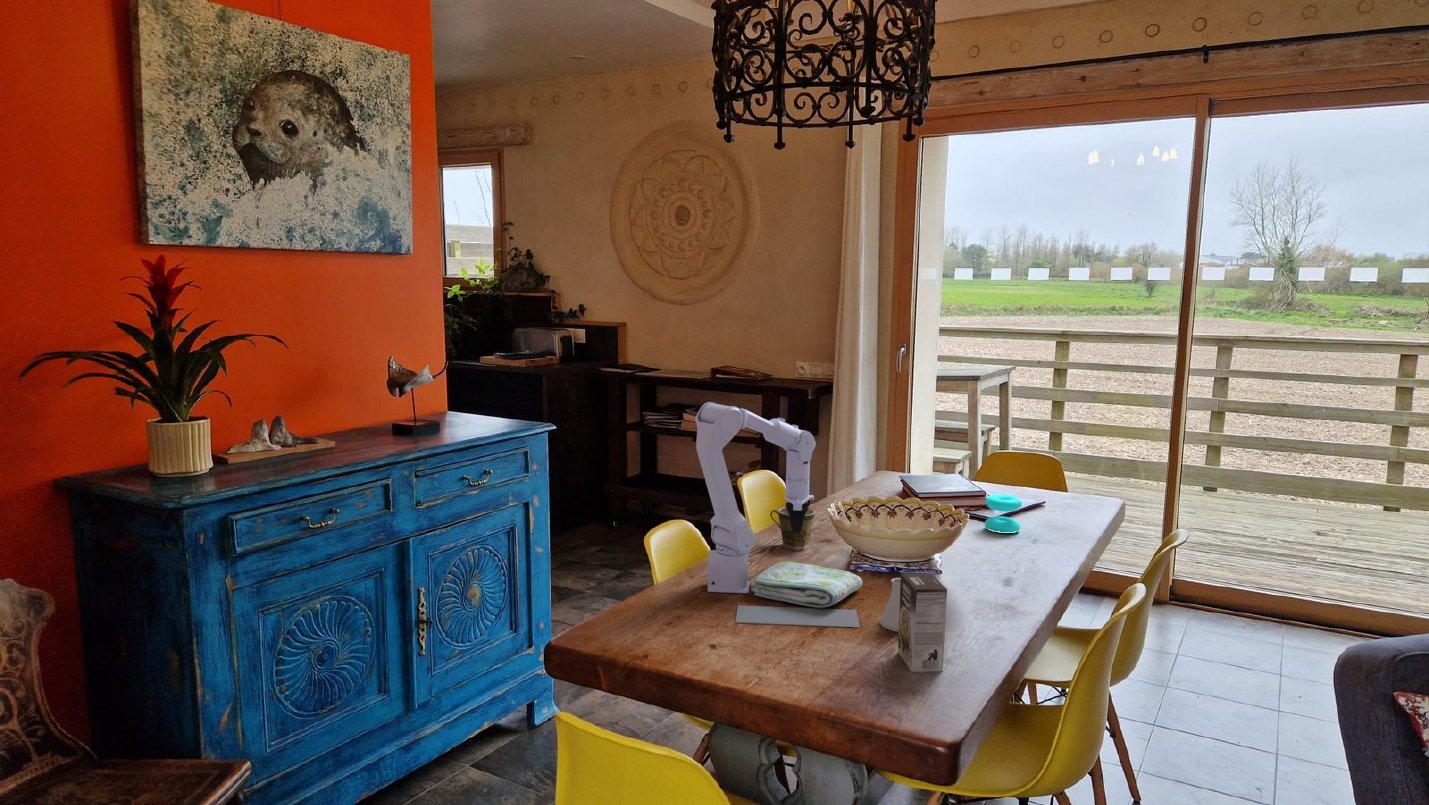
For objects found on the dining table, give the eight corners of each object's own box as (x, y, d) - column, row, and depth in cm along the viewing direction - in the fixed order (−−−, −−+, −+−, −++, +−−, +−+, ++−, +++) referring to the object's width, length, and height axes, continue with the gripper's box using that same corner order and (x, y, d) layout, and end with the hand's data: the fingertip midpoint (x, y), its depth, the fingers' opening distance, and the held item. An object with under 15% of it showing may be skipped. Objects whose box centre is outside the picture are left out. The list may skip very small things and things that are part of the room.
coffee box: (896, 652, 176) (899, 572, 174) (928, 652, 177) (932, 572, 175) (910, 672, 167) (913, 588, 165) (944, 671, 168) (948, 588, 166)
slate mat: (735, 623, 190) (735, 622, 190) (737, 606, 200) (737, 605, 200) (859, 628, 188) (859, 627, 188) (856, 610, 198) (856, 610, 198)
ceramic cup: (820, 545, 248) (821, 510, 246) (803, 554, 239) (804, 517, 238) (778, 538, 254) (779, 503, 253) (761, 546, 246) (761, 510, 245)
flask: (894, 635, 185) (896, 588, 184) (872, 623, 191) (874, 577, 190) (922, 629, 188) (924, 583, 187) (900, 617, 195) (901, 573, 193)
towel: (781, 575, 222) (782, 555, 221) (863, 590, 211) (864, 569, 211) (746, 596, 206) (747, 574, 206) (833, 613, 196) (834, 591, 195)
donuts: (982, 493, 269) (1015, 493, 269) (980, 525, 270) (1013, 526, 270) (991, 501, 259) (1026, 501, 259) (990, 535, 260) (1024, 535, 260)
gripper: (815, 485, 213) (813, 540, 215) (813, 472, 228) (811, 524, 230) (785, 484, 214) (783, 539, 216) (785, 471, 228) (784, 523, 230)
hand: (796, 532), depth 223 cm, fingers closed
